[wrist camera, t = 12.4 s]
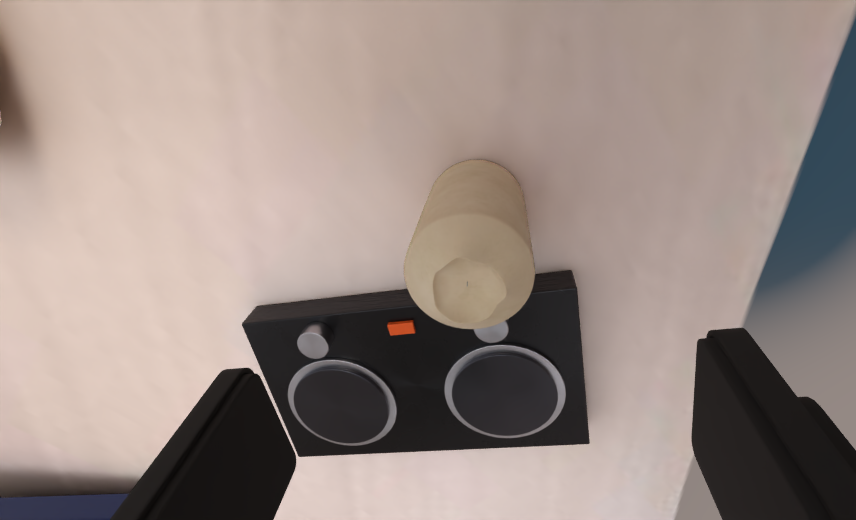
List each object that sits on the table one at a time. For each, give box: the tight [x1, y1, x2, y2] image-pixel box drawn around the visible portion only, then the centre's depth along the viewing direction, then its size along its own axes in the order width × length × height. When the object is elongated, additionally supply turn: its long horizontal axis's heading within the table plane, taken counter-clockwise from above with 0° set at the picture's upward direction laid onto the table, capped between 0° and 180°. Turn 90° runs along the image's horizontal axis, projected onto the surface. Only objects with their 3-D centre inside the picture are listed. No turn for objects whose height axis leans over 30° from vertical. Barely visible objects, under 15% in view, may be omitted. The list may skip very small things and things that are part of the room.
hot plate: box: [242, 270, 590, 457], centre depth 32 cm, size 12×21×3 cm, turn 102°
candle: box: [404, 160, 535, 329], centre depth 23 cm, size 6×6×10 cm
